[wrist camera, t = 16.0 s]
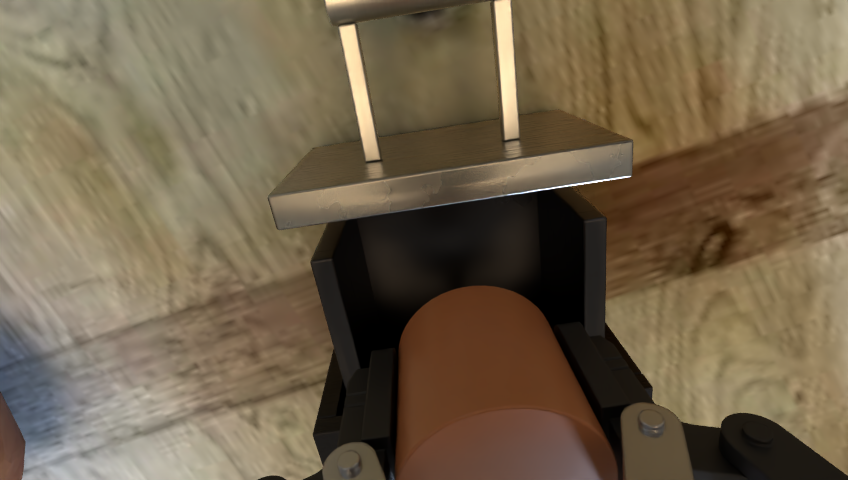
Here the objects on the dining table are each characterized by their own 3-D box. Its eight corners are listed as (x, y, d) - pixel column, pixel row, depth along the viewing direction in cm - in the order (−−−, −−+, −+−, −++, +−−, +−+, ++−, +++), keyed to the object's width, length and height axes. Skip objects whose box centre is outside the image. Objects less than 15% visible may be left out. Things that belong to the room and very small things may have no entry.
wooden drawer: (276, 4, 18) (200, -21, 12) (555, -43, 18) (643, -95, 11) (369, 378, 26) (356, 494, 19) (566, 350, 26) (622, 458, 19)
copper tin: (366, 362, 15) (347, 507, 10) (471, 254, 13) (505, 365, 9) (479, 433, 16) (508, 590, 11) (584, 342, 15) (666, 479, 10)
